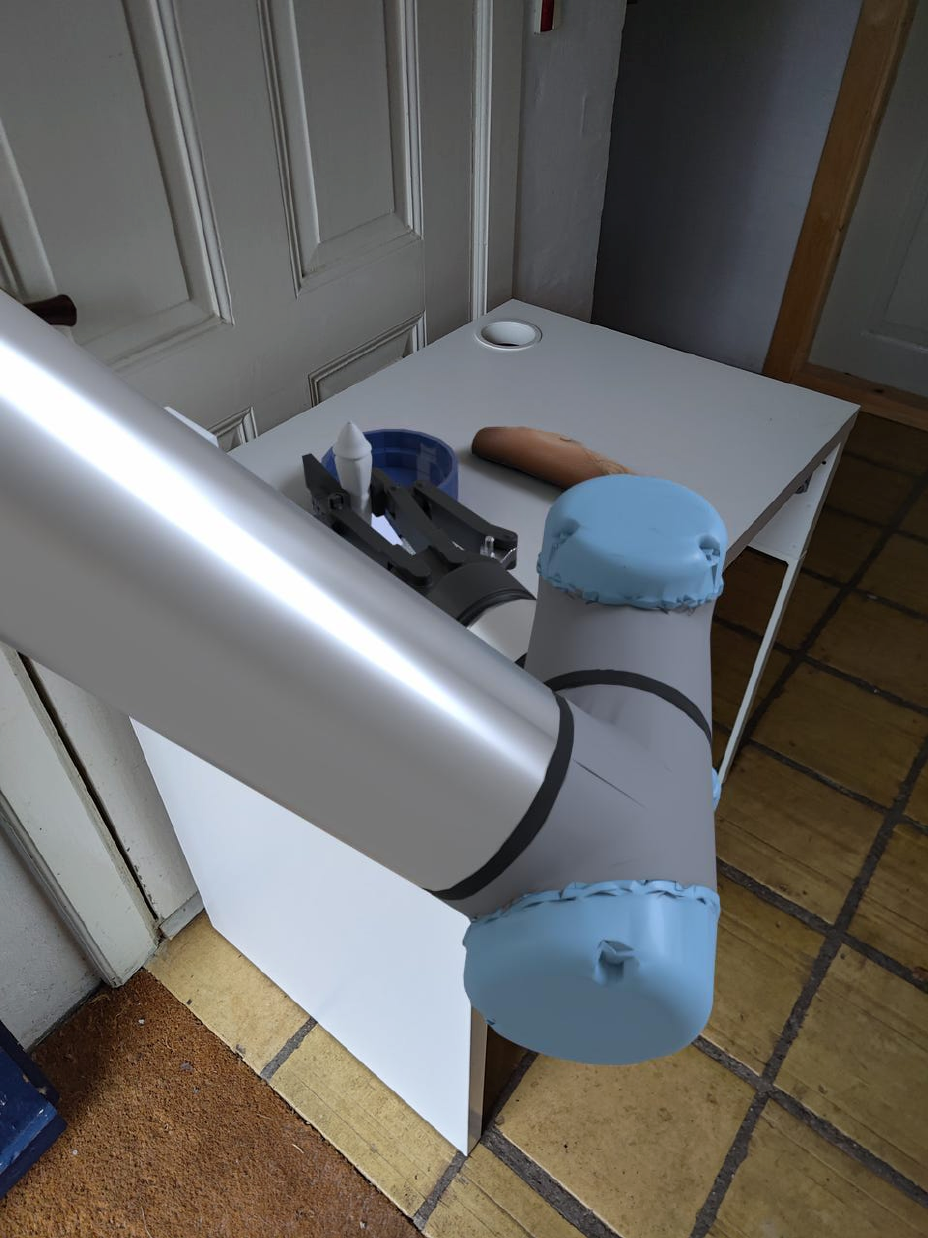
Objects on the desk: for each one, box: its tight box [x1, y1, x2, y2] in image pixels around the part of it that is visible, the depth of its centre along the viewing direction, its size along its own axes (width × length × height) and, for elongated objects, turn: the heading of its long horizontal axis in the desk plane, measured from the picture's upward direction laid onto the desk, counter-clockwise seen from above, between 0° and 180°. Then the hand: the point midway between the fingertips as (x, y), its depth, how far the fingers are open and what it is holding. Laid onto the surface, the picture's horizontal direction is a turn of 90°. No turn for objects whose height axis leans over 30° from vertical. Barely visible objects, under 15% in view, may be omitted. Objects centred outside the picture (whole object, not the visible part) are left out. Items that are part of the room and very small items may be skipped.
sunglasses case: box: [470, 425, 638, 491], centre depth 95 cm, size 18×7×7 cm
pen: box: [332, 419, 372, 527], centre depth 63 cm, size 2×3×14 cm
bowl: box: [320, 428, 459, 536], centre depth 91 cm, size 14×14×4 cm
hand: (324, 465), depth 66 cm, fingers closed on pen, 2 cm apart
